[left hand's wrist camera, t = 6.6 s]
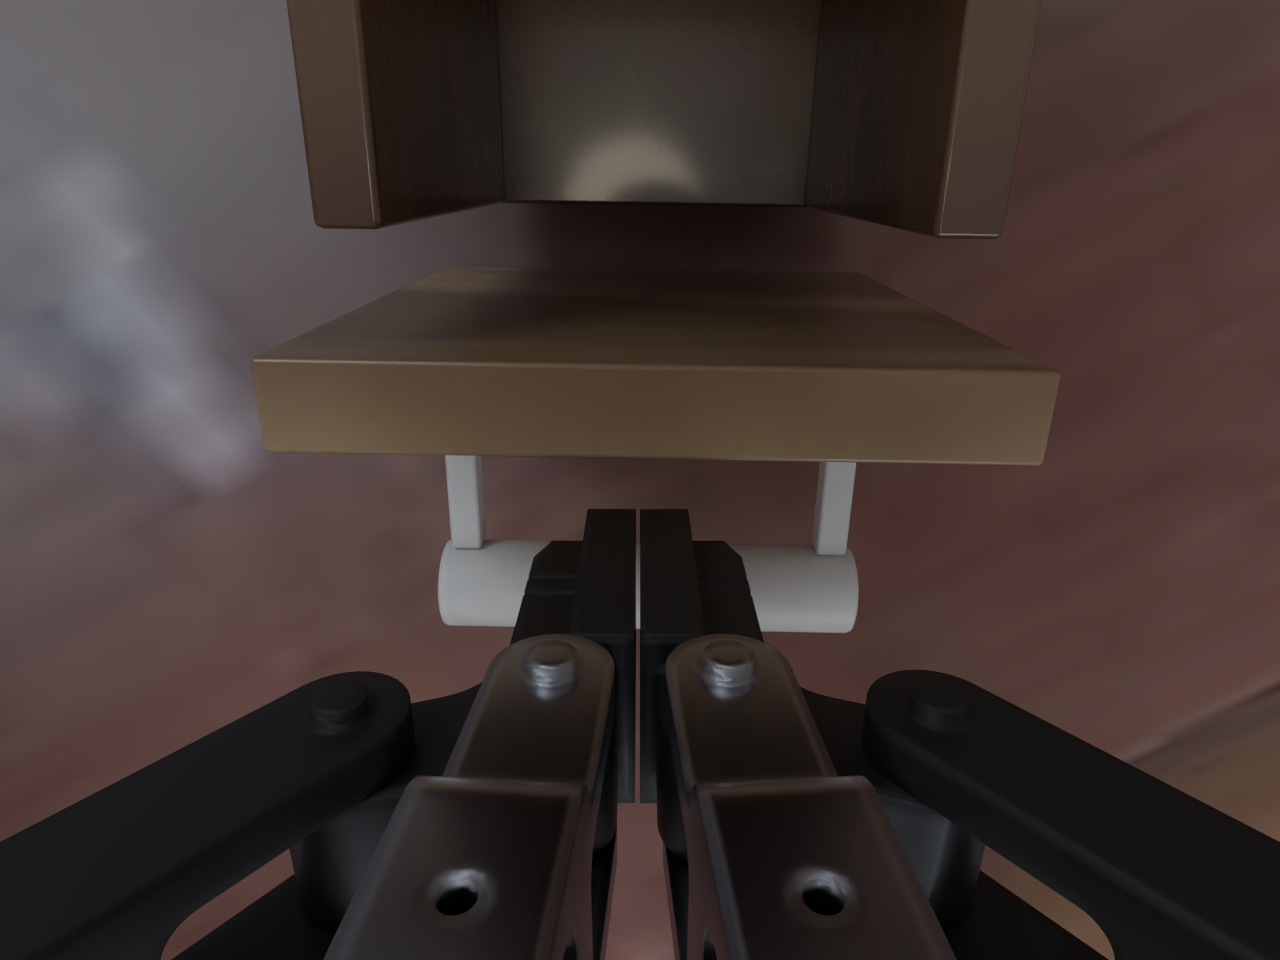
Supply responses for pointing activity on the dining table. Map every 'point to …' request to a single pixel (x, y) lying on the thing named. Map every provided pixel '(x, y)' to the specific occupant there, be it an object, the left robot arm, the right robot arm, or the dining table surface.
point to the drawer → (660, 299)
